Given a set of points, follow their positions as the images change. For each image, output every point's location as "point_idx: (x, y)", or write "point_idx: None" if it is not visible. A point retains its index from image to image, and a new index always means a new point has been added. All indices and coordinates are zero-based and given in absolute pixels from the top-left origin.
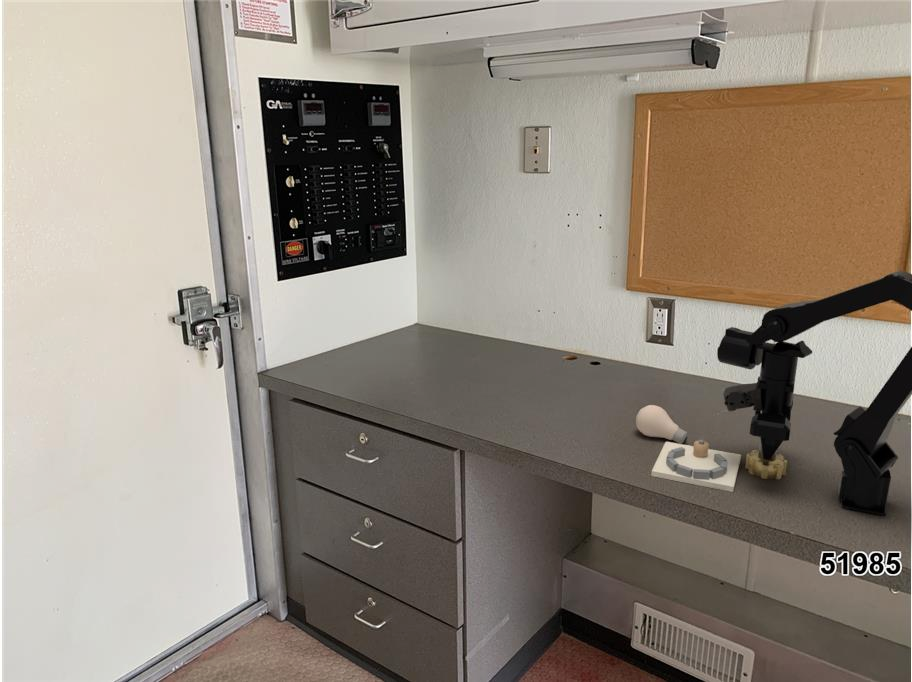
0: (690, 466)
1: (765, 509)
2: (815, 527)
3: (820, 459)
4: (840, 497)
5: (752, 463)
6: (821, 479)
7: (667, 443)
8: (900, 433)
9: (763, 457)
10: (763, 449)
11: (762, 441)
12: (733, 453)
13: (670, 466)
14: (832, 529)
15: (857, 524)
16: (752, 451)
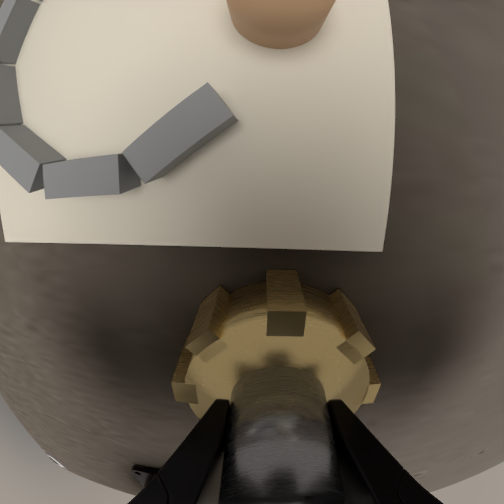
0: (94, 12)
1: (5, 326)
2: (25, 403)
3: (409, 444)
4: (151, 478)
5: (191, 334)
6: None
7: None
8: (491, 466)
9: (211, 405)
10: (181, 449)
11: (143, 495)
12: (387, 207)
13: None
14: (43, 424)
15: (92, 460)
16: (350, 335)
